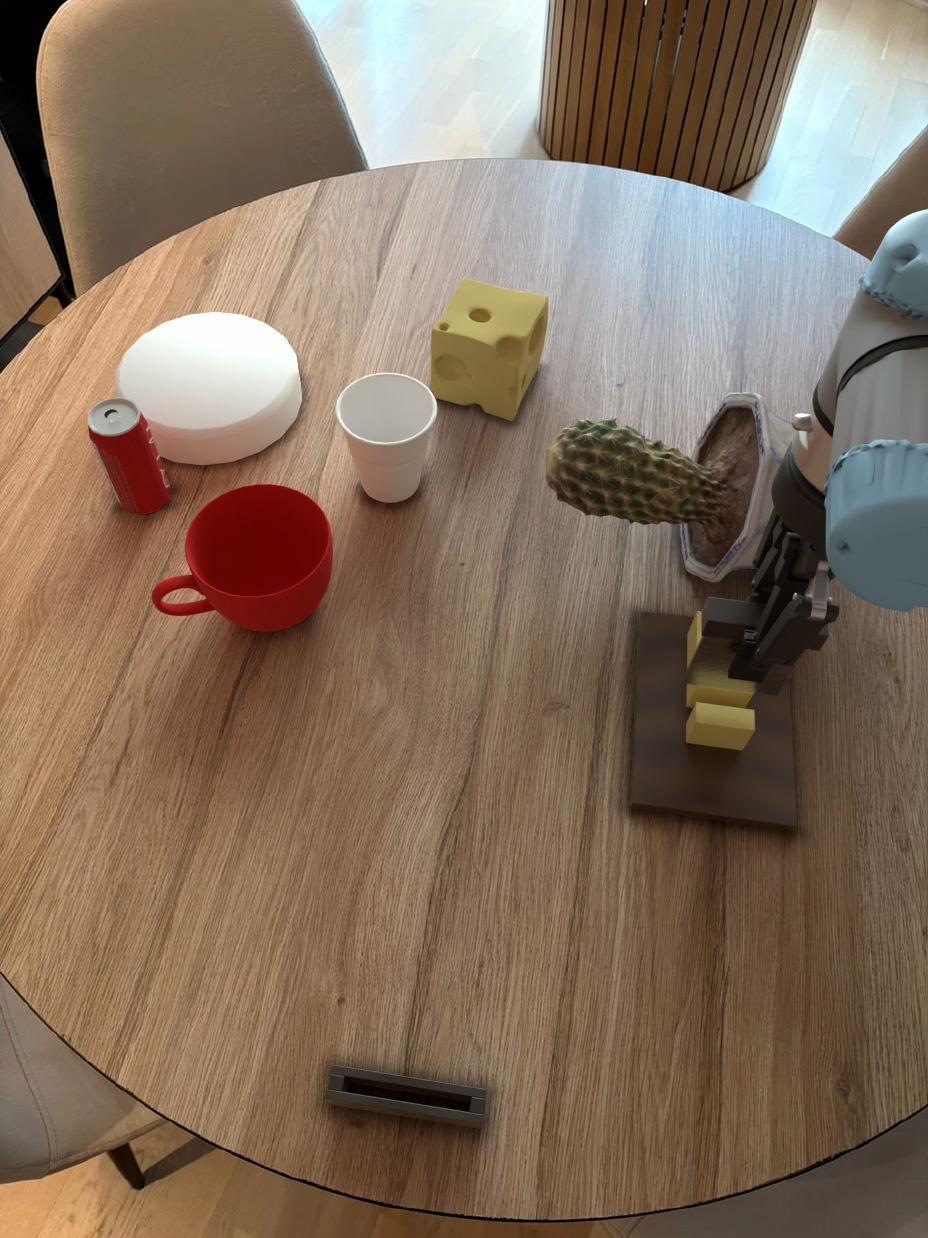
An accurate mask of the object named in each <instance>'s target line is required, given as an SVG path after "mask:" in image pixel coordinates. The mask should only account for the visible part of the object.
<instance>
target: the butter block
mask: <svg viewBox="0 0 928 1238" xmlns="http://www.w3.org/2000/svg"><path fill="white" fill-rule="evenodd" d="M701 616H702V610H696V612H695V615H694V620H693V622H692V624H691V627H690V629H689V632H688V639H687V669H688V667H689V665H690V662H691V660H692V658H693V656H694V653H695V651H696V649H697V646H698V644H699V642H700V640H701V637H702V635H701ZM753 694H754V693H751V692H743V691H736V690H728V689H721V688H713V687H706V686H699V685H691V684H687V704H686V706H687V707H691V708H694V706H695V704H696V702H699V703H706V704H713V705H721V706H728V707H735V708H743V709H745V707H746V706H747V704H748V702H749V701H750V699H751V697H752V695H753Z"/></svg>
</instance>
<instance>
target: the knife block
mask: <svg viewBox="0 0 928 1238" xmlns="http://www.w3.org/2000/svg"><path fill="white" fill-rule="evenodd" d="M330 1073H331V1074H330V1076H329V1082H328V1086H327V1091H326V1097H325V1099H326V1100H327V1102H328V1103H329V1104H330V1105H332V1106H336V1107H343V1108H350V1109H355V1110H362V1111H368V1112H373V1113H380V1114H386V1115H393V1116H397V1117H404V1118H409V1119H416V1120H424V1121H428V1122H429V1121H430V1122H435V1123H442V1124H447V1125H454V1126H461V1127H466V1128H472V1129H479V1130H481V1129H482V1126H483V1124H484V1118H485V1117H484V1114H485V1108H486V1107H485V1106H486V1097H487V1089H486V1088H481V1087H475V1086H469V1085H463V1084H456V1083H450V1082H443V1081H437V1080H432V1079H426V1078H420V1077H412V1076H406V1075H400V1074H395V1073H388V1072H381V1071H375V1070H369V1069H363V1068H357V1067H351V1066H344V1065H338V1064H332V1067H331V1071H330ZM349 1084H354V1085H359V1086H360V1085H362V1086H367V1087H373V1088H379V1089H386V1090H392V1091H396V1092H397V1091H398V1092H404V1093H410V1094H417V1095H422V1096H429V1097H435V1098H442V1099H448V1100H453V1101H459V1102H466V1103H469V1107H468V1111H465V1110H464V1111H463V1110H458V1109H452V1108H446V1107H440V1106H435V1105H434V1106H433V1105H427V1104H421V1103H415V1102H408V1101H403V1100H396V1099H390V1098H385V1097H384V1098H383V1097H377V1096H373V1095H372V1096H371V1095H365V1094H359V1093H353V1092H348V1087H349Z"/></svg>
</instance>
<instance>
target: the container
mask: <svg viewBox="0 0 928 1238" xmlns="http://www.w3.org/2000/svg"><path fill="white" fill-rule="evenodd" d="M300 376H301V375H300V372H299V365H298V359H297V354H296V352H295V351H294V349H293V347H292V346H291V344H290V343H289V341H288V339H287V338H286V337H285V336H284V335H283V334H281V333H280V332H278V331H277V330H275V329H274V328H272V327H271V326H270V325H269V324H267V323H266V322H263V321H261V320H258V319H255V318H252V317H250V316H247V315H244V314H240V313H239V314H238V313H228V312H220V311H212V312H203V313H192V314H187V315H184V316H180V317H177V318H174V319H171V320H167V321H164V322H163V323H161V324H159V325H157V326H156V327H154V328H152V329H150V330H149V331H147V332H145V333H143V334H142V335H141V336H140V337H139V338H138V339H137V340H136V341H134V343H133V344H132V345H130V347H129V348H128V349H127V350H126V351H125V352H124V353H123V355H122V358H121V359H120V361H119V364H118V366H117V367H116V370H115V372H114V390H113V391H114V393H113V394H114V396H115V397H121V398H127V399H130V400H132V401H133V402H135V404H136V405H137V407H138V408H139V409H140V411H141V412H142V414H143V415H144V417H145V419H146V421H147V422H148V425H149V428H150V431H151V434H152V436H153V439H154V442H155V445H156V448H157V451H158V453H159V456H160V458H163V459H166V460H168V461H171V462H172V463H173V462H174V463H177V464H178V463H180V464H189V465H196V466H210V465H218V464H226V463H233V462H236V461H240V460H241V459H245V458H247V457H250V456H253V455H255V454H258V453H260V452H262V451H264V450H265V449H266V448H268V447H269V446H271V445H272V444H273V443H275V442H277V441H278V440H280V439H281V438H282V437H283V436H284V435H285V433H287V431H288V430H289V429H290V428H291V426H292V425H293V424H294V422H295V421H296V420H297V419H298V414H299V413H300V408H301V405H302V402H303V392H302V384H301V378H300Z"/></svg>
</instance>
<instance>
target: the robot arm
mask: <svg viewBox="0 0 928 1238" xmlns="http://www.w3.org/2000/svg"><path fill="white" fill-rule="evenodd" d="M858 282H859V283H858V284H859V287H858V289H857V292H856V294H855V296H854V298H853V301H852V302H851V305H850V308H849V310H848V313H847V315H846V317H845V320H844V322H843V325H842V326H841V329H840V331H839V333H838V336H837V338H836V340H835V342H834V345H833V347H832V349H831V352H830V353H829V356H828V359H827V361H826V362H825V365H824V367H823V370H822V372H821V375H820V377H819V378H818V381H817V383H816V386H815V388H814V390H813V392H812V395H811V397H810V400H809V402H808V405H807V407H806V409H805V411H804V413H796V414H795V415H793V418H792V421H791V422H792V424H791V425H792V427H793V428H794V429H795V430H796V433H795V435H794V438H793V441H792V442H791V443H790V445H789V447H788V448H787V451H786V453H785V455H784V457H783V460H782V462H781V464H780V466H779V469H778V471H777V473H776V475H775V478H774V480H773V483H772V489H771V495H772V501H773V505H774V508H773V511H772V513H771V516H770V518H769V521H768V523H767V526H766V528H765V531H764V533H763V536H762V538H761V541H760V543H759V546H758V549H757V551H756V554H755V556H754V558H753V561H752V564H753V568H752V569H754V570H757V571H756V573H755V574H754V577H753V578H752V579H751V582H750V589H751V593H752V594H750V595H748V597H747V600H746V601H745V602H753V603H761V604H767V605H766V607H765V609H764V611H763V614H762V616H761V618H760V620H759V623H758V625H757V627H756V628H752V627H750V629H749V630H744V634H743V642H742V644H741V646H740V648H739V650H738V652H737V654H736V656H735V658H734V660H733V662H732V664H731V665H730V667H729V669H728V678H729V679H737V680H744V681H752V682H759V683H762V682H763V680H764V679H765V677H766V675H767V673H768V672H769V670H770V668H771V667H772V665H773V664H780V665H787V666H792V665H793V664H794V663H795V662H796V660H797V659H798V658H799V657H800V655H801V654H802V653H803V652H804V651H805V649H806V648H807V647H808V646H809V644H810V643H811V642H812V641H813V640H814V638H815V637H816V636H817V635H818V633H819V632H820V631H821V630H822V628H823V627H824V626H825V625H826V624H828V625H830V624H833V623H835V622H836V621H837V620H838V617H839V616H840V605H839V603H837V602H834V599H833V597H832V596H828V594H829V586H830V583H831V581H832V580H834V579H837V581H838V582H839V583H840V584H841V585H842V587H844V588H845V589H846V590H847V591H849V592H850V594H853V595H854V596H855V597H857V598H859V599H860V600H862V601H864V602H866V603H868V604H870V605H873V606H876V607H879V608H883V609H886V610H890V611H895V612H896V611H897V612H903V613H911V612H912V611H913V610H915V609H916V608H928V208H927V209H923V210H919V211H916V212H913V213H911V214H908V215H906V216H904V217H903V218H901V219H899V220H898V221H897V222H896V223H895V224H894V225H893V226H891V227H890V228H889V229H888V231H887V232H886V234H885V235H884V237H883V239H882V241H881V243H880V245H879V247H878V248H877V250H876V252H875V254H874V256H873V258H872V260H871V261H870V263H869V264H868V267H867V269H866V270H865V271H864V272H862V273H861V274H860V277H859V279H858ZM767 553H768V554H767ZM806 650H807V649H806ZM805 652H806V651H805ZM805 652H804V653H805Z"/></svg>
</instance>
